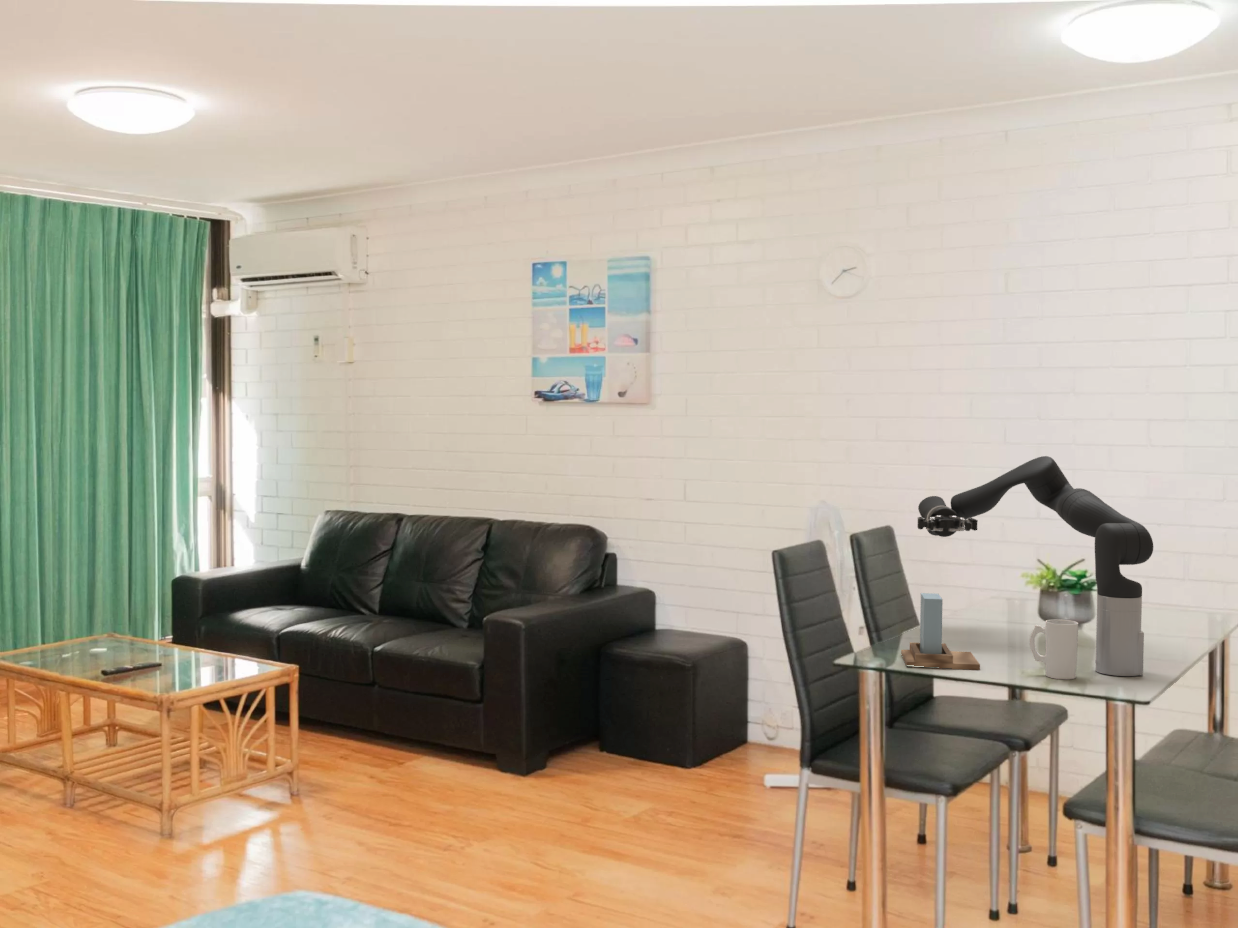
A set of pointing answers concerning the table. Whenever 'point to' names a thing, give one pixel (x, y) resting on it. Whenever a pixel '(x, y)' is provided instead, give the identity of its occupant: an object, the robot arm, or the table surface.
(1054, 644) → the mug
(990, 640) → the table surface
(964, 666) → the base
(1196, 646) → the table surface
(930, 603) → the door panel
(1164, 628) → the table surface
